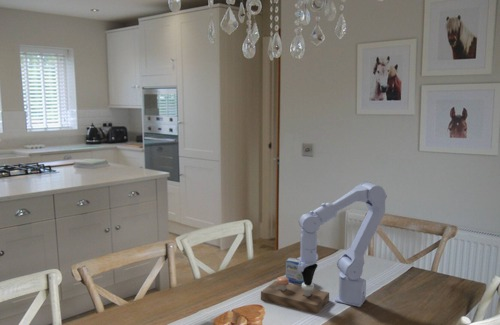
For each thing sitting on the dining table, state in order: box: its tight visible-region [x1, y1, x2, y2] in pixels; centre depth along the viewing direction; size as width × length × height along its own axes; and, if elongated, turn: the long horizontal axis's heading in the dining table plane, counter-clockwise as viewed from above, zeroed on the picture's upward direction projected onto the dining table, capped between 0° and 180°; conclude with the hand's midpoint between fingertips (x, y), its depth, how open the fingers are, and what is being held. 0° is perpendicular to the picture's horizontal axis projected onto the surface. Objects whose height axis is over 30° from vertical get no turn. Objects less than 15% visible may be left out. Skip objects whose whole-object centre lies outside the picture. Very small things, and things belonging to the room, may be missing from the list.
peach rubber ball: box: [276, 276, 290, 291], centre depth 162 cm, size 4×4×4 cm
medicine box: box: [285, 257, 304, 285], centre depth 178 cm, size 8×4×9 cm, turn 62°
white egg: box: [301, 282, 315, 297], centre depth 157 cm, size 4×4×4 cm
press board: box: [260, 280, 330, 314], centre depth 160 cm, size 22×12×3 cm, turn 60°
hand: (307, 284), depth 157 cm, fingers closed
